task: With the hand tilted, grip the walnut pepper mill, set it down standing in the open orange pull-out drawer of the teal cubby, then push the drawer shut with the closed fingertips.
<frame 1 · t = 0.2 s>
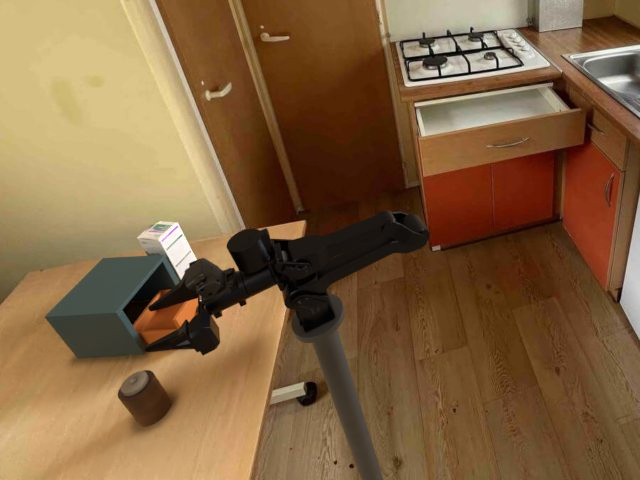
hand: (147, 328, 74), 16 cm above the table, tool horizontal, fingers open, 9 cm apart
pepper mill: (155, 411, 77), on the table
cubby: (135, 324, 92), on the table
syrup box: (180, 272, 105), on the table
drawer: (173, 309, 91), point 4 cm above the table, slide at 8.0 cm
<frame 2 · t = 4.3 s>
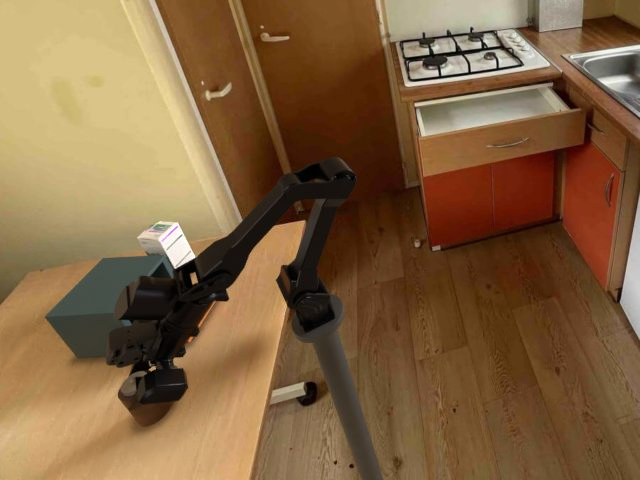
hand: (130, 396, 73), 7 cm above the table, tool tilted 45°, fingers closed on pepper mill, 5 cm apart
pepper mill: (155, 411, 77), on the table, touching gripper
everything else where it was.
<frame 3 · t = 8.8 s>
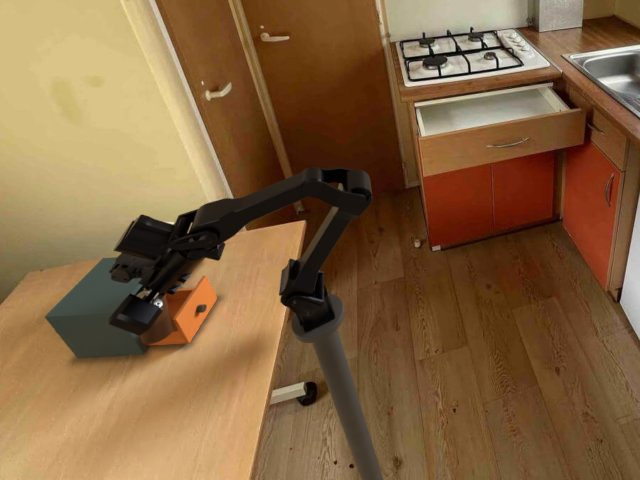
hand: (141, 304, 82), 13 cm above the table, tool tilted 45°, fingers closed on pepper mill, 5 cm apart
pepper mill: (158, 334, 84), point 6 cm above the table, tilted 12°, touching gripper
everything else where it was.
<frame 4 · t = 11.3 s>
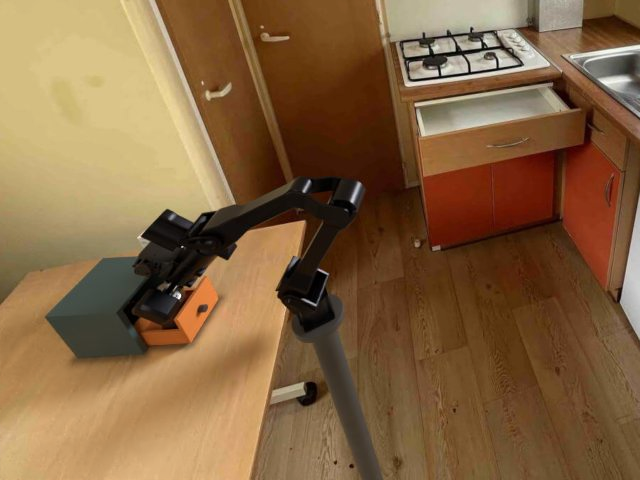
hand: (161, 295, 89), 9 cm above the table, tool tilted 45°, fingers closed on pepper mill, 5 cm apart
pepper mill: (177, 323, 91), point 2 cm above the table, tilted 12°, touching drawer, gripper
drawer: (175, 309, 91), point 4 cm above the table, slide at 8.3 cm, touching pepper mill
everything else where it was.
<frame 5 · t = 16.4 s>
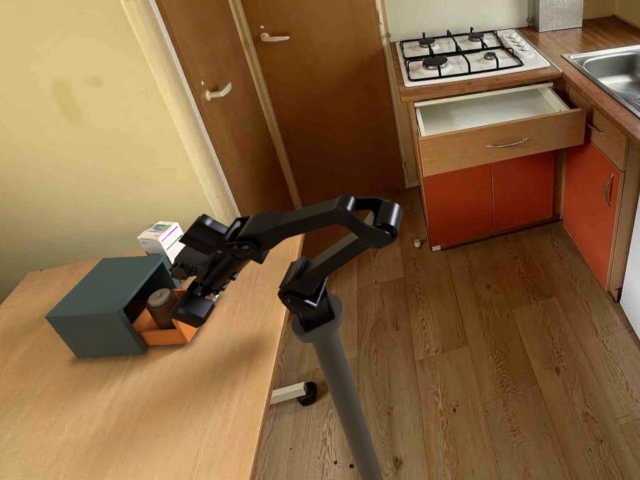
hand: (194, 298, 90), 7 cm above the table, tool tilted 45°, fingers closed, pressing on drawer
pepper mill: (176, 325, 91), point 1 cm above the table, touching drawer
drawer: (173, 309, 91), point 4 cm above the table, slide at 7.9 cm, touching gripper, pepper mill
everything else where it was.
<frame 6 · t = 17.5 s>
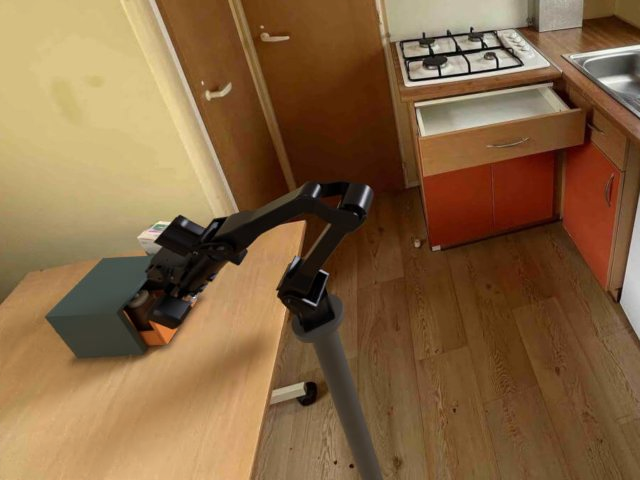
hand: (172, 300, 90), 7 cm above the table, tool tilted 45°, fingers closed, pressing on drawer
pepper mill: (154, 326, 91), point 1 cm above the table, touching drawer
drawer: (152, 310, 91), point 4 cm above the table, slide at 3.5 cm, touching gripper, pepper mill
everything else where it was.
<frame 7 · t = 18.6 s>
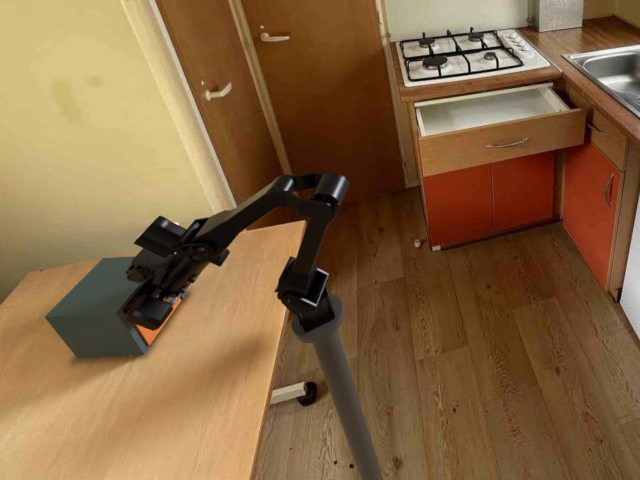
hand: (155, 301, 89), 7 cm above the table, tool tilted 45°, fingers closed, pressing on drawer
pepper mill: (137, 327, 90), point 1 cm above the table, touching drawer
drawer: (134, 311, 90), point 4 cm above the table, slide at -0.1 cm, touching gripper, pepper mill
everything else where it was.
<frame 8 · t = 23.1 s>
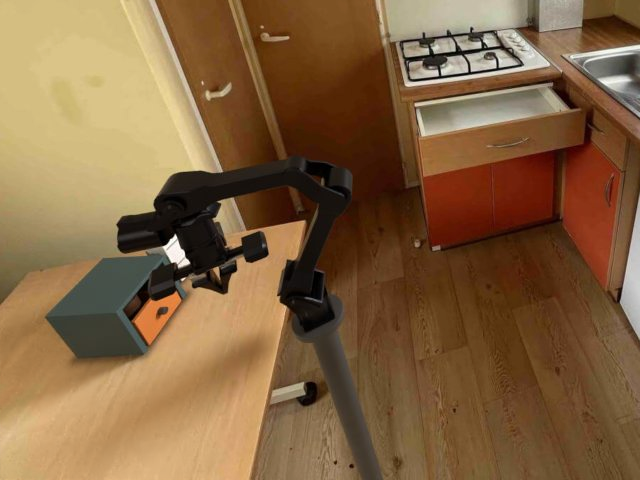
hand: (225, 292, 85), 13 cm above the table, tool pointing down, fingers closed
drawer: (135, 311, 90), point 4 cm above the table, slide at 0.0 cm, touching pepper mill
everything else where it was.
at the end: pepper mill inside the target area on the cubby (1.8 cm from its centre), point 1.3 cm above the cubby's base; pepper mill tilted 0°; drawer slide at 0.0 cm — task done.
